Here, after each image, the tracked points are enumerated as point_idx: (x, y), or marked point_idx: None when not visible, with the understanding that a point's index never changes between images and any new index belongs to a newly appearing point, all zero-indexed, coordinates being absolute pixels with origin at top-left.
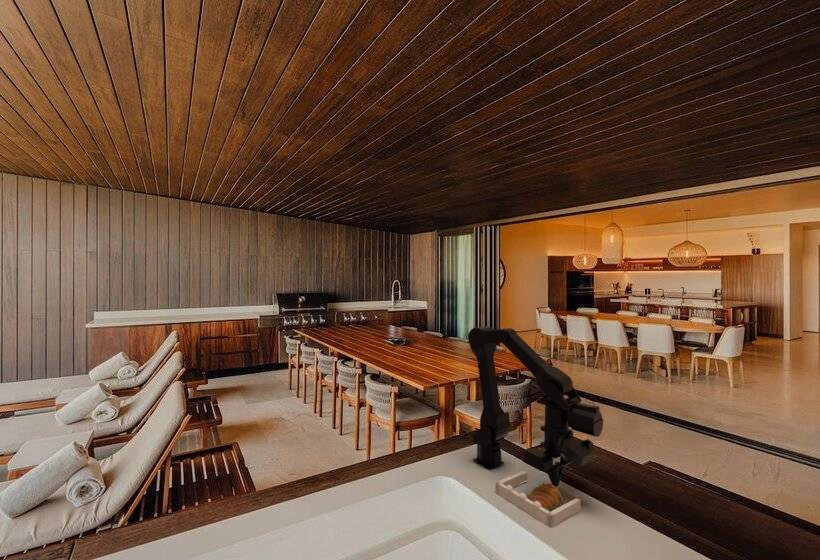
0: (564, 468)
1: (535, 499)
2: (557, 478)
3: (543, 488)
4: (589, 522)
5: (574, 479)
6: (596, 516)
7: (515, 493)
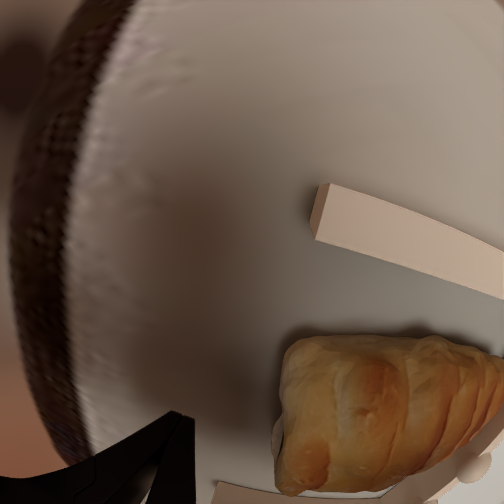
0: (54, 478)
1: (470, 438)
2: (175, 472)
3: (384, 481)
4: (416, 96)
5: (27, 317)
6: (298, 68)
7: (448, 488)
